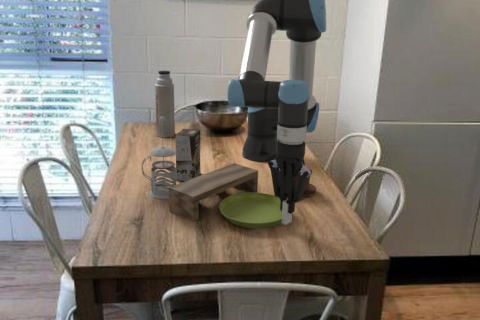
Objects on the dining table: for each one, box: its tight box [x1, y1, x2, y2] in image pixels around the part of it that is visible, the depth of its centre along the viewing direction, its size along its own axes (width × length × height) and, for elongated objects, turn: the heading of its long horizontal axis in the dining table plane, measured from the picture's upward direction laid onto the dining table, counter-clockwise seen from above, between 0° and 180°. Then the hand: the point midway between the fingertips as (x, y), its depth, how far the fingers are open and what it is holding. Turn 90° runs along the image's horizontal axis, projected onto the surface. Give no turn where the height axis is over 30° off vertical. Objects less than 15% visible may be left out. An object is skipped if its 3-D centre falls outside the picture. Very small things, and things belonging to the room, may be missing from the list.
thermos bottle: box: [154, 70, 176, 138], centre depth 218 cm, size 8×8×28 cm
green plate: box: [218, 192, 282, 230], centre depth 146 cm, size 21×21×3 cm
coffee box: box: [175, 128, 201, 182], centre depth 172 cm, size 9×6×16 cm
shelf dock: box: [168, 162, 259, 222], centre depth 154 cm, size 10×29×8 cm, turn 140°
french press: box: [141, 117, 177, 200], centre depth 156 cm, size 10×12×25 cm
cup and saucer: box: [297, 171, 317, 198], centre depth 162 cm, size 12×12×6 cm
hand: (286, 222), depth 139 cm, fingers closed
